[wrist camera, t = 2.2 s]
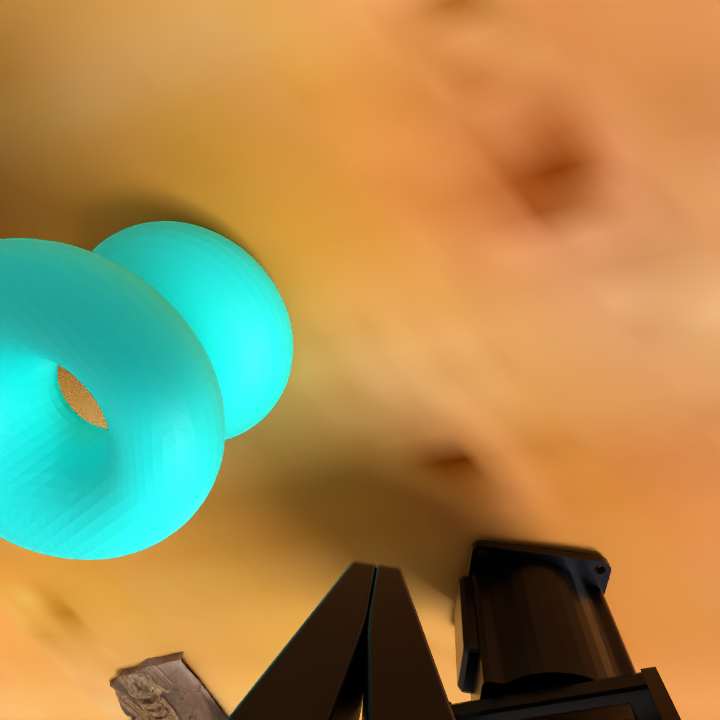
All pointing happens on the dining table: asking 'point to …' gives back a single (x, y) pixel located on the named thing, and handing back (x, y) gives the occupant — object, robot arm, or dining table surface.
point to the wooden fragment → (164, 692)
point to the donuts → (129, 382)
